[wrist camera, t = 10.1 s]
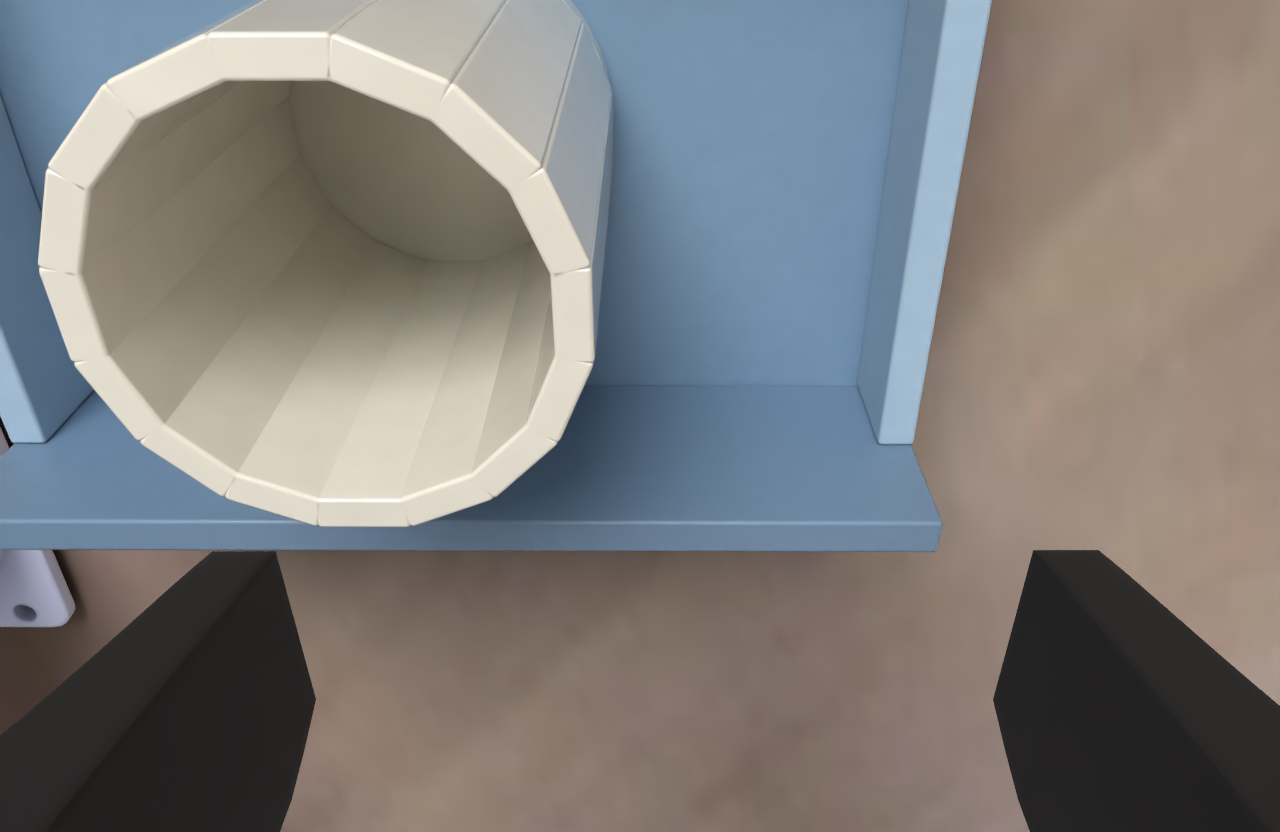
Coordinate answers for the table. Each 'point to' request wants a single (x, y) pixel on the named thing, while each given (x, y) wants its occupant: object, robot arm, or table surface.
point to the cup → (342, 250)
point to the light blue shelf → (630, 294)
